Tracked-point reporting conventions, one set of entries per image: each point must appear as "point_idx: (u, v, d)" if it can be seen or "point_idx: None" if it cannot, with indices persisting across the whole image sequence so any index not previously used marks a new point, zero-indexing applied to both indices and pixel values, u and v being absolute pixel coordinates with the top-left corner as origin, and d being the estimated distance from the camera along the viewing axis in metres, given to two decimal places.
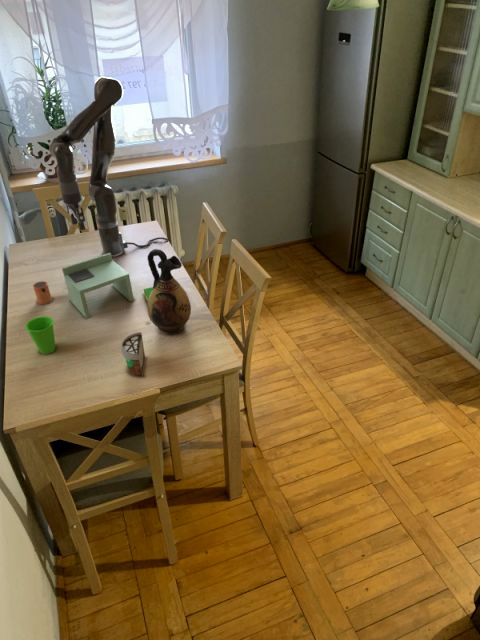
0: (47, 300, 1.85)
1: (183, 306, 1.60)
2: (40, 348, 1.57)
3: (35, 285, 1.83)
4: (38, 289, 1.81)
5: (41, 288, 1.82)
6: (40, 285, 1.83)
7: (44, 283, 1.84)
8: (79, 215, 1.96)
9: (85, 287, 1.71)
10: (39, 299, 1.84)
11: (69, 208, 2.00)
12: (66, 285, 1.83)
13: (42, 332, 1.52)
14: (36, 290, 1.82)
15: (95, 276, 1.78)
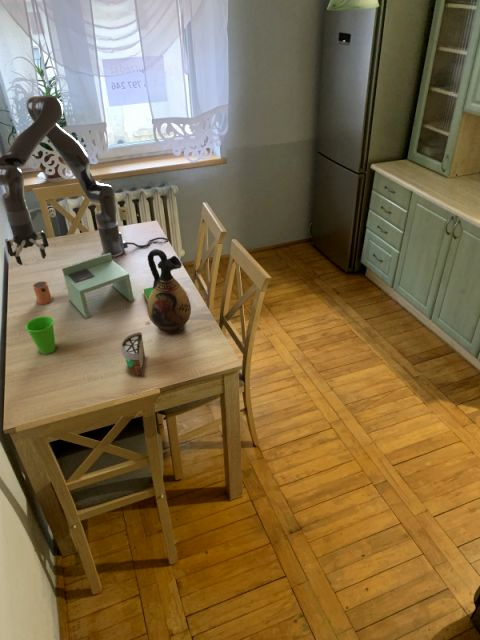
0: (47, 300, 1.85)
1: (183, 306, 1.60)
2: (40, 348, 1.57)
3: (35, 285, 1.83)
4: (38, 289, 1.81)
5: (41, 288, 1.82)
6: (40, 285, 1.83)
7: (44, 283, 1.84)
8: None
9: (85, 287, 1.71)
10: (39, 299, 1.84)
11: None
12: (66, 285, 1.83)
13: (42, 332, 1.52)
14: (36, 290, 1.82)
15: (95, 276, 1.78)
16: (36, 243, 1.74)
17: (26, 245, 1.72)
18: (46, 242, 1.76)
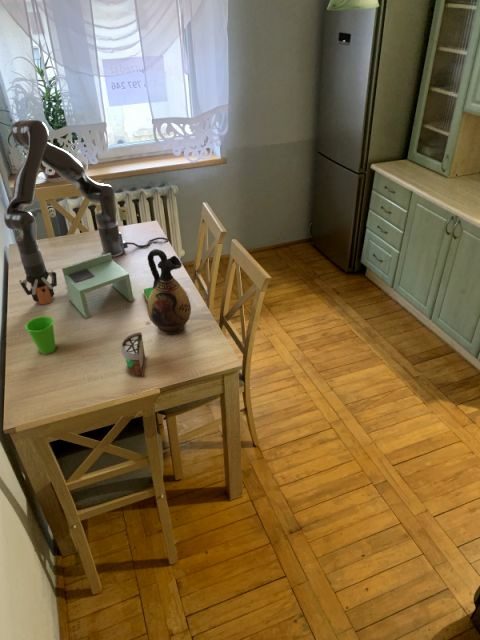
0: (47, 300, 1.85)
1: (183, 306, 1.60)
2: (40, 348, 1.57)
3: None
4: (38, 289, 1.81)
5: (41, 288, 1.82)
6: (40, 285, 1.83)
7: None
8: None
9: (85, 287, 1.71)
10: (39, 299, 1.84)
11: None
12: (66, 285, 1.83)
13: (42, 332, 1.52)
14: (36, 290, 1.82)
15: (95, 276, 1.78)
16: (46, 282, 1.83)
17: (38, 283, 1.82)
18: (55, 282, 1.85)
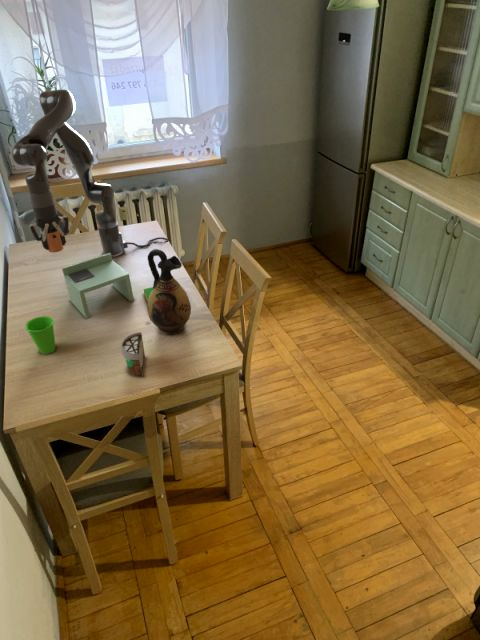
0: (58, 248, 1.70)
1: (183, 306, 1.60)
2: (40, 348, 1.57)
3: None
4: (49, 235, 1.67)
5: (52, 234, 1.67)
6: (50, 231, 1.68)
7: None
8: None
9: (85, 287, 1.71)
10: (49, 246, 1.69)
11: None
12: (66, 285, 1.83)
13: (42, 332, 1.52)
14: (46, 236, 1.67)
15: (95, 276, 1.78)
16: (58, 228, 1.68)
17: (49, 228, 1.67)
18: (67, 228, 1.71)
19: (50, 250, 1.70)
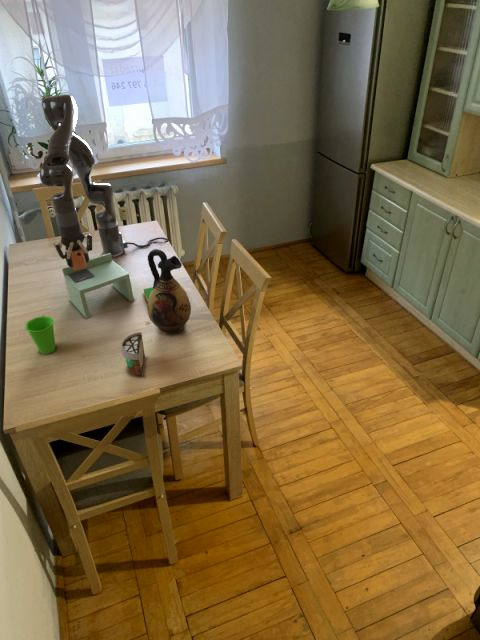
0: (82, 265, 1.73)
1: (183, 306, 1.60)
2: (40, 348, 1.57)
3: None
4: (73, 253, 1.69)
5: (76, 252, 1.70)
6: (75, 249, 1.71)
7: None
8: (57, 250, 1.68)
9: (85, 287, 1.71)
10: (74, 264, 1.72)
11: None
12: (66, 285, 1.83)
13: (42, 332, 1.52)
14: (71, 254, 1.70)
15: (95, 276, 1.78)
16: (82, 246, 1.71)
17: (73, 247, 1.70)
18: (90, 246, 1.74)
19: (74, 267, 1.73)
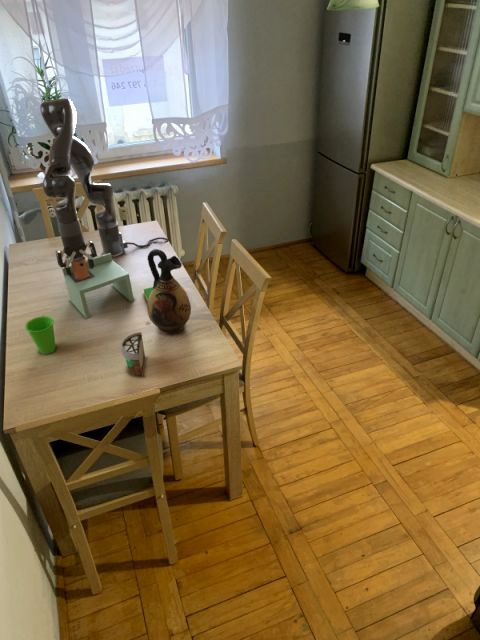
0: (85, 275, 1.76)
1: (183, 306, 1.60)
2: (40, 348, 1.57)
3: None
4: (76, 263, 1.72)
5: (79, 262, 1.72)
6: (77, 259, 1.73)
7: (82, 257, 1.75)
8: (57, 258, 1.69)
9: (85, 287, 1.71)
10: (76, 274, 1.75)
11: None
12: (66, 285, 1.83)
13: (42, 332, 1.52)
14: (74, 264, 1.72)
15: (95, 276, 1.78)
16: (85, 254, 1.73)
17: (76, 256, 1.72)
18: (95, 252, 1.76)
19: (77, 277, 1.75)
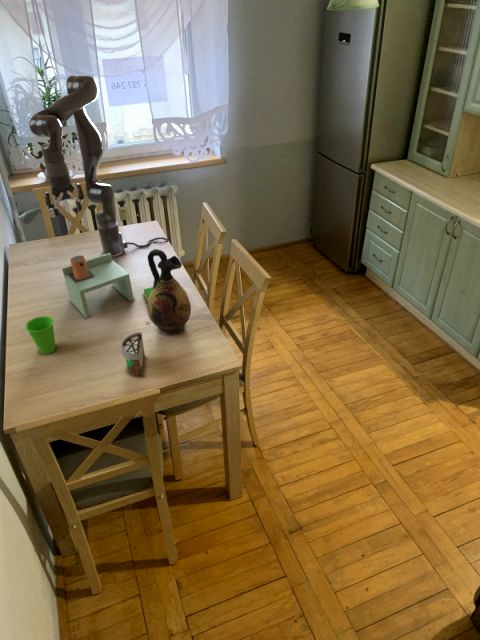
0: (85, 275, 1.76)
1: (183, 306, 1.60)
2: (40, 348, 1.57)
3: (72, 259, 1.73)
4: (76, 263, 1.72)
5: (79, 262, 1.72)
6: (77, 259, 1.73)
7: (82, 257, 1.75)
8: (45, 199, 1.75)
9: (85, 287, 1.71)
10: (76, 274, 1.75)
11: None
12: (66, 285, 1.83)
13: (42, 332, 1.52)
14: (74, 264, 1.72)
15: (95, 276, 1.78)
16: (73, 195, 1.78)
17: (63, 197, 1.77)
18: (82, 195, 1.81)
19: (77, 277, 1.75)
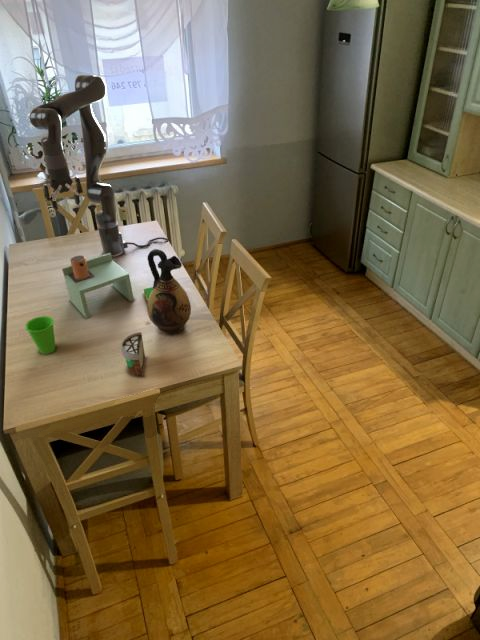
0: (85, 275, 1.76)
1: (183, 306, 1.60)
2: (40, 348, 1.57)
3: (72, 259, 1.73)
4: (76, 263, 1.72)
5: (79, 262, 1.72)
6: (77, 259, 1.73)
7: (82, 257, 1.75)
8: (44, 191, 1.77)
9: (85, 287, 1.71)
10: (76, 274, 1.75)
11: None
12: (66, 285, 1.83)
13: (42, 332, 1.52)
14: (74, 264, 1.72)
15: (95, 276, 1.78)
16: (71, 188, 1.81)
17: (62, 190, 1.79)
18: (80, 188, 1.83)
19: (77, 277, 1.75)
